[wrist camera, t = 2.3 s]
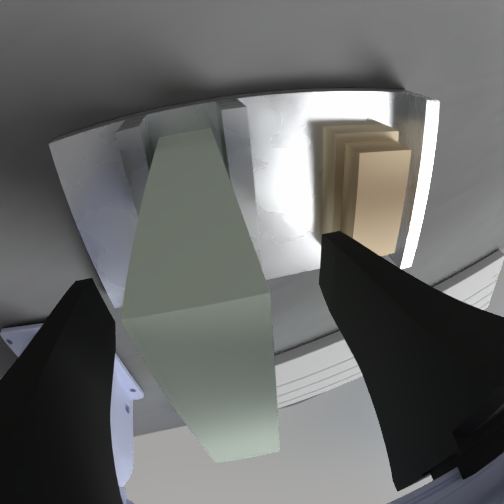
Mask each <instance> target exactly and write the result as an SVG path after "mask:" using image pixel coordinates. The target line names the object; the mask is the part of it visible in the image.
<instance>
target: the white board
mask: <svg viewBox="0 0 504 504" xmlns="http://www.w3.org/2000/svg"><path fill="white" fill-rule="evenodd" d="M503 260H504V254H503V253H502V252H501V251H500V250H498V251H496V252H494V253H493V254H491V255H489V256H488V257H486V258H484V259H483V260H481V261H479V262H478V263H476V264H474V265H472V266H471V267H469V268H467V269H465V270H464V271H462V272H460V273H458V274H456V275H455V276H453V277H451V278H449V279H447V280H445V281H444V282H442V283H440V284H438V285H436V286H434V287H433V288H435V289H437V290H439V291H441V292H443V293H445V294H447V295H449V296H451V297H453V298H455V299H458V300H460V301H462V302H464V303H467V304H469V305H472V306H474V307H477V308H479V309H481V310H484V309H485V308H487V307H488V306H489V303H490V299H491V296H492V295H493V290H494V287H495V285H496V283H497V278H498V274H499V272H500V270H501V267H502V263H503ZM274 357H275V373H276V390H277V407H278V408H280V407H283V406H286V405H289V404H292V403H295V402H298V401H301V400H304V399H306V398H309V397H312V396H314V395H317V394H320V393H322V392H325V391H327V390H330V389H332V388H335V387H337V386H340V385H342V384H344V383H347V382H349V381H352V380H354V379H356V378H359V377H361V376H363V375H362V373H361V370H360V368H359V366H358V364H357V362H356V360H355V358H354V356H353V354H352V352H351V351H350V349H349V347H348V345H347V343H346V341H345V339H344V337H343V335H342V334H341V332H340V331H338V332H335V333H333V334H330V335H328V336H325V337H323V338H320V339H318V340H315V341H313V342H310V343H308V344H305V345H302V346H300V347H297V348H295V349H292V350H289V351H286V352H284V353H281V354H278V355H275V356H274Z"/></svg>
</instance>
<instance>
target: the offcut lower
mask: <svg viewBox="0 0 504 504" xmlns="http://www.w3.org/2000/svg"><path fill="white" fill-rule="evenodd" d="M398 138H399V131H397V130H395V129H393V128H391V127H389V126H387V125H385V124H359V125H339V126H324V127H323V208H322V234H325V233H331V232H336V231H340V228H341V214H342V199H343V180H344V154H345V143H354V142H370V141H389V140H395V141H397V142H398ZM321 240H322V235H321Z"/></svg>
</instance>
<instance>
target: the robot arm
mask: <svg viewBox="0 0 504 504" xmlns="http://www.w3.org/2000/svg"><path fill="white" fill-rule="evenodd" d="M319 285H320V288H321V290H322V293H323V296H324V299H325V301H326V304H327V306H328V309H329V311H330V313H331V315H332V317H333V319H334V320H335V322H336V324H337V326H338V328H339V330H340V332H341V334H342V335H343V337H344V339H345V341H346V343H347V345H348V347H349V349H350V351H351V352H352V354H353V356H354V358H355V360H356V362H357V364H358V366H359V368H360V370H361V373H362V375H363V377H364V380H365V383H366V385H367V388H368V391H369V394H370V396H371V399H372V402H373V405H374V408H375V411H376V414H377V417H378V420H379V424H380V427H381V431H382V434H383V438H384V442H385V445H386V449H387V453H388V458H389V462H390V467H391V472H392V478H393V482H394V484H395V487H396V489H397V491H400V490H402V489H404V488H406V487H408V486H411V485H412V484H414V483H417V482H418V481H420V480H422V479H424V478H426V477H428V476H430V475H431V476H432V478H433V481H432V482H430V483H428V484H427V485H424V486H423V487H421V488H419V489H417V490H415V491H413V492H411V493H409V494H407V495H405V496H403V497H401V498H398V499H396V500H394V501H392V502H390V503H387V504H504V317H501V316H498V315H495V314H492V313H489V312H487V311H484V310H481V309H479V308H477V307H474V306H472V305H469V304H467V303H464V302H462V301H460V300H458V299H455V298H453V297H451V296H449V295H447V294H445V293H443V292H441V291H439V290H437V289H435V288H433V287H431V286H429V285H427V284H426V283H424V282H422V281H420V280H419V279H417V278H415V277H413V276H412V275H410V274H408V273H406V272H405V271H403V270H401V269H400V268H398V267H397V266H395V265H393V264H392V263H390V262H389V261H387V260H385V259H384V258H382V257H381V256H379V255H378V254H376V253H375V252H373V251H371V250H370V249H368V248H367V247H365V246H364V245H362V244H361V243H359V242H358V241H356V240H354V239H353V238H351V237H350V236H348V235H346V234H345V233H343V232H341V231H336V232H331V233H325V234H322V240H321V259H320V275H319ZM0 336H1V337H2V339H3V340H4V341H5V342H6V344H7V345H8V346H9V347H10V348H11V350H12V351H13V352H14V353H15V354H16V355H17V357H18V359H17V360H16V361H15V363H14V364H13V365H12V367H11V368H10V369H9V370H8V371H7V373H6V374H5V375H4V376H3V378H2V379H1V380H0V504H134V503H133V502H132V501H130V500H128V499H126V489H125V488H124V487H123V486H124V485H125V483H126V482H127V481H128V479H129V477H130V476H131V473H132V470H133V465H134V454H133V400H136V399H142V398H143V397H144V393H143V391H142V390H141V388H140V387H139V386H138V384H137V383H136V382H135V380H134V379H133V378H132V376H131V375H130V373H129V372H128V370H127V369H126V368H125V366H124V365H123V363H122V362H121V360H120V359H119V357H118V356H117V354H116V353H115V351H116V336H115V321H114V319H113V317H112V316H111V314H110V312H109V310H108V308H107V306H106V304H105V303H104V301H103V299H102V297H101V295H100V293H99V291H98V289H97V287H96V285H95V283H94V281H93V279H92V278H89V279H84V280H79V281H75V283H74V284H73V285H72V286H71V287H70V288H69V289H68V291H67V292H66V293H65V295H64V296H63V297H62V299H61V300H60V301H59V303H58V304H57V305H56V307H55V308H54V309H53V311H52V312H51V314H50V315H49V316H48V318H47V319H46V321H45V322H44V323H40V324H33V325H26V326H18V327H11V328H3V329H2V330H1V332H0Z"/></svg>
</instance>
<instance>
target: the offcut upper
mask: <svg viewBox="0 0 504 504" xmlns="http://www.w3.org/2000/svg"><path fill="white" fill-rule="evenodd" d="M410 158H411V149H409V148H407V147H406V146H404V145H402V144H400V143H399V142H397V141H395V140H389V141H370V142H354V143H345V154H344V180H343V199H342V214H341V228H340V231H341V232H343V233H345V234H346V235H348V236H350V237H351V238H353V239H354V240H356V241H358V242H359V243H361V244H362V245H364V246H365V247H367V248H368V249H370V250H371V251H373V252H375V253H376V254H378V255H379V256H384V255H388V254H392V253H395V249H396V244H397V239H398V234H399V229H400V224H401V218H402V213H403V207H404V201H405V195H406V188H407V181H408V174H409V166H410Z"/></svg>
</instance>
